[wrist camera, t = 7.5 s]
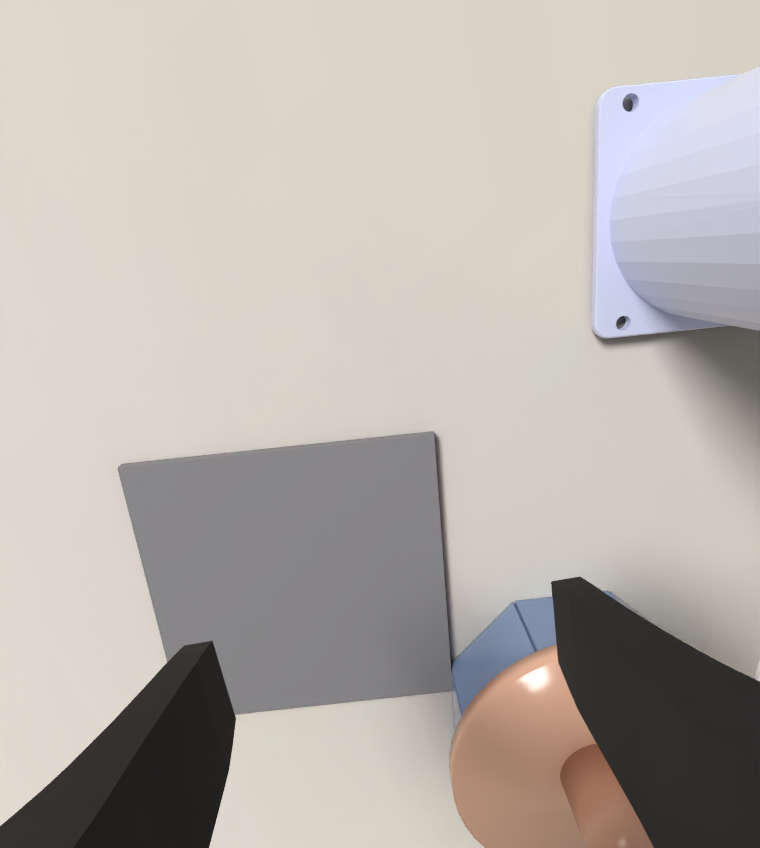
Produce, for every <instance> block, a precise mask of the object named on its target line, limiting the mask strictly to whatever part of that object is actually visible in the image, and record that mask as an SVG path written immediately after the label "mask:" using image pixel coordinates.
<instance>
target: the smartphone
mask: <svg viewBox="0 0 760 848" xmlns="http://www.w3.org/2000/svg"><path fill="white" fill-rule="evenodd" d="M755 680H757V681H760V661H759V664H758V667H757V670H756V674H755Z"/></svg>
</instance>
